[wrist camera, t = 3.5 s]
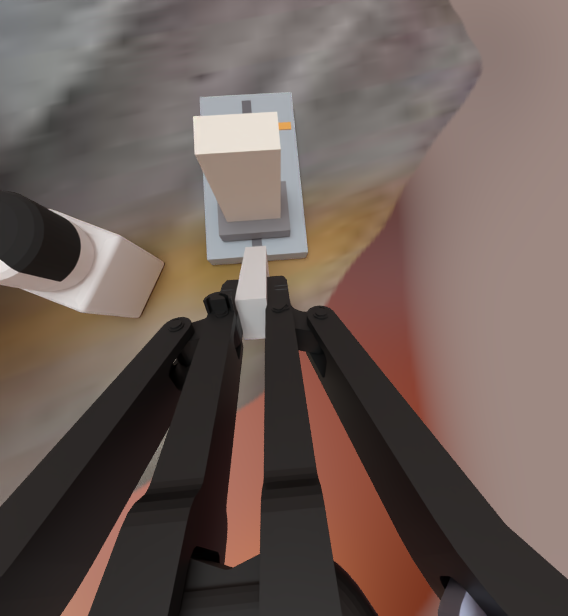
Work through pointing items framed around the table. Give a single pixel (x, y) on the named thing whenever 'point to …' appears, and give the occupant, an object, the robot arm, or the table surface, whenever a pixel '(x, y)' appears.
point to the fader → (244, 173)
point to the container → (72, 260)
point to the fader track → (290, 173)
